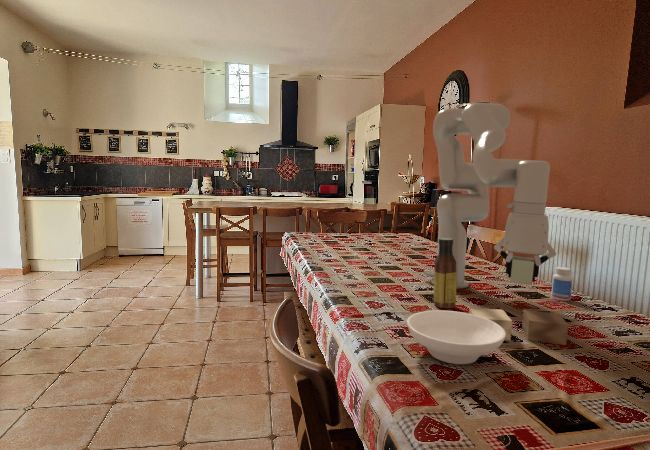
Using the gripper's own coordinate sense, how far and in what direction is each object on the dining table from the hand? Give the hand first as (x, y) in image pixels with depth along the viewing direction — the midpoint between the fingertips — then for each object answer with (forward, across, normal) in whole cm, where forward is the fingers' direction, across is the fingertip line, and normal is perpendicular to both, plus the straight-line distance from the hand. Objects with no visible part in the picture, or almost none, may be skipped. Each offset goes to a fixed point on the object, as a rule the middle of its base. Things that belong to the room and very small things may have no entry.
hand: (521, 277), depth 109 cm
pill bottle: (+12, +13, +28) cm, 33 cm away
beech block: (+12, -6, -14) cm, 19 cm away
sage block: (+1, 0, 0) cm, 1 cm away
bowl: (+11, -12, -32) cm, 36 cm away
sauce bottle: (+12, -19, +2) cm, 23 cm away
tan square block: (+12, +6, -10) cm, 16 cm away
